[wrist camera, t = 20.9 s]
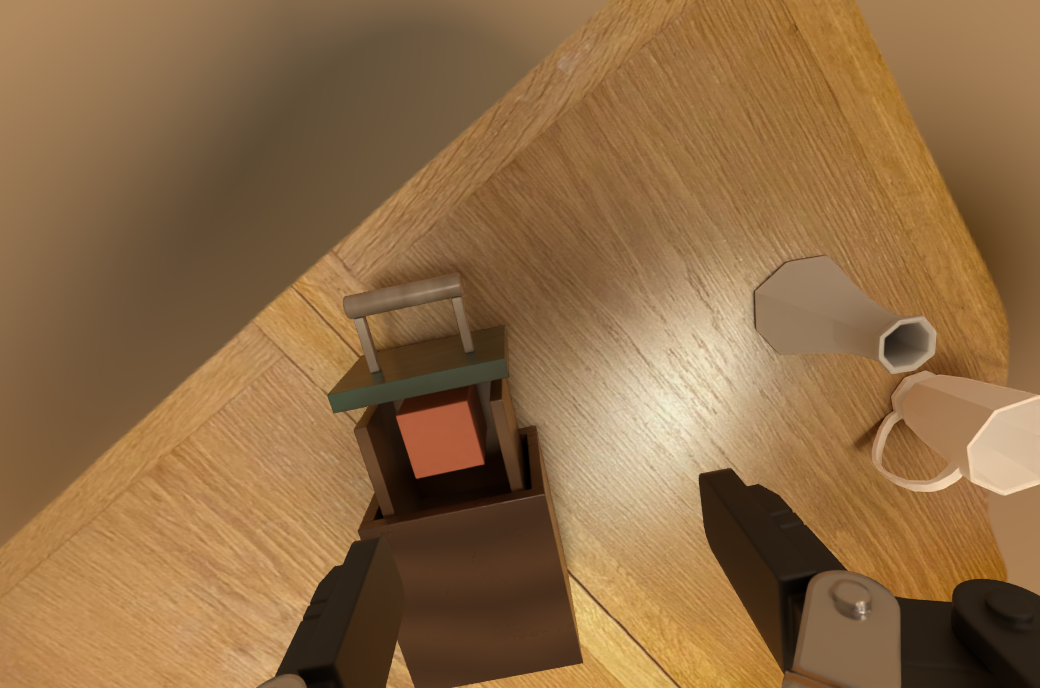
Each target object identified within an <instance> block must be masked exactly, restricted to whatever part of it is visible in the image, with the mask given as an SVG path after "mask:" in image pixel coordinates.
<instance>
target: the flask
mask: <svg viewBox="0 0 1040 688" xmlns="http://www.w3.org/2000/svg"><path fill="white" fill-rule="evenodd" d="M755 307H756V330H757V331H758V332H759V333H760V334H761V335H762V336H763V337H764V338H765V339H766V340H767V341H768V343H769V344H770V345H771V346H772V347H773V348H774V349H775V350H776V351H777V352H778V353H779V354H780V355H790V354H809V353H847V354H853V355H858V356H863V357H868V358H871V359H873V360H875V361H878V362H879V363H880V364H881V365H882V366H883V368H884V369H885V370H886V371H887V372H888V373H890V374H895V373H901V372H907V371H913V370H916V369H917V368H918V367H920V366H921V365H922V364H923V363H924V362H926V361H927V360H928V359H929V358H931V357H932V356H933V355H934V354H935V345H936V333H937V332H936V331H935V329H934V328H933V327H932V326H931V324H930V323H929V322H928V321H927V320H926V318H925V317H924V316H922V315H913V316H907V317H904V316H901V315H898V314H895V313H892V312H890V311H889V310H887V309H885V308H884V307H882V306H880V305H879V304H877V303H875V302H874V301H872V300H871V299H870V298H869V297H868V296H867V295H866V294H865V293H864V292H863V291H862V290H861V289H860V288H859V287H858V286H857V285H856V284H854V283H853V282H852V281H851V280H850V279H849V278H848V276H847V275H846V274H845V273H844V272H843V271H842V270H841V269H840V268H839V267H838V266H837V265H836V263H835V262H834V261H833V260H832V259H831V258H830V257H829V256H828V255H825V256H820V257H814V258H808V259H802V260H796V261H791V262H786V263H785V264H784V265H783V266H782V267H781V268H780V269H779V270H778V271H777V272H776V273H774V274H773V275H772V276H771V277H770V278H769V279H768V280H767V281H766V282H765V283H764V284H763V285H761V286H760V287H759V288H758V289H757V290H756V291H755Z"/></svg>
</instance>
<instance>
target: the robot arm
mask: <svg viewBox="0 0 1040 688" xmlns="http://www.w3.org/2000/svg"><path fill="white" fill-rule="evenodd" d="M699 488H700V496H701V505H702V514H703V522H704V529H705V533H706V537H707V540H708V543H709V545H710V548H711V550H712V552H713V554H714V555H715V557H716V559H717V560H718V562H719V564H720V566H721V567H722V569H723V571H724V572H725V574H726V576H727V578H728V579H729V581H730V583H731V584H732V586H733V588H734V590H735V591H736V593H737V595H738V596H739V598H740V600H741V602H742V603H743V605H744V607H745V608H746V610H747V612H748V614H749V615H750V617H751V619H752V620H753V622H754V624H755V626H756V627H757V629H758V631H759V633H760V634H761V636H762V638H763V639H764V641H765V643H766V645H767V646H768V648H769V650H770V651H771V653H772V655H773V657H774V658H775V660H776V662H777V663H778V665H779V667H780V669H781V670H782V672H783V674H784V679H783V683H782V688H1040V596H1039V595H1037V594H1035V593H1033V592H1031V591H1029V590H1027V589H1024V588H1022V587H1019V586H1016V585H1013V584H1010V583H1006V582H1002V581H997V580H990V579H973V580H968V581H965V582H962V583H960V584H959V585H957V586H956V588H955V589H954V591H953V595H952V602H943V601H930V600H917V599H907V598H900V597H895V596H893V594H892V593H891V592H890V591H889V590H888V589H887V588H885V587H884V586H883V585H881V584H880V583H878V582H877V581H875V580H873V579H871V578H869V577H867V576H864V575H862V574H859V573H855V572H851V571H848V570H847V569H846V568H845V567H844V566H843V565H842V564H841V563H840V562H839V561H838V559H837V558H836V557H835V556H834V555H833V554H832V553H831V552H830V551H829V550H828V549H827V547H826V546H825V545H824V544H823V543H822V542H821V541H820V540H819V539H818V538H817V536H816V535H815V534H814V533H813V532H812V531H811V530H810V529H809V528H808V527H807V526H806V525H804V523H803V521H802V520H801V519H800V518H799V517H798V516H797V515H796V513H793V512H792V509H791V508H790V507H789V506H788V505H787V504H786V503H785V501H784V500H783V499H782V498H781V497H780V496H779V495H778V494H776V493H774V492H772V491H770V490H769V489H767V488H765V487H763V486H761V485H759V484H756V485H751V486H746V485H745V484H744V483H743V481H742V480H741V479H740V478H739V477H738V475H737V474H736V473H735V472H734V471H733V470H732V469H731V468H727V469H722V470H717V471H712V472H706V473H701V474H700V475H699ZM404 607H405V593H404V586H403V583H402V579H401V577H400V574H399V571H398V568H397V565H396V562H395V559H394V556H393V553H392V551H391V548H390V545H389V542H388V540H387V538H386V537H385V536H379V537H374V538H369V539H364V540H359V541H354V542H353V543H352V545H351V547H350V549H349V551H348V554H347V556H346V558H345V561H344V563H343V565H340V566H335V567H334V568H333V569H332V570H331V571H330V572H329V573H328V574H327V575H326V577H325V578H324V579H323V580H322V581H321V582H320V583H319V585H318V587H317V589H316V591H315V593H314V595H313V597H312V599H311V602H310V606H308V608H307V610H306V612H305V614H304V616H303V621H301V623H300V625H299V627H298V629H297V631H296V633H295V635H294V637H293V639H292V641H291V644H290V646H289V648H288V650H287V652H286V654H285V656H284V658H283V660H282V662H281V665H280V667H279V669H278V671H277V673H276V675H275V677H274V678H272V679H270V680H268V681H266V682H264V683H263V684H261V685H259V686H258V687H257V688H386V683H387V679H388V675H389V671H390V667H391V663H392V659H393V654H394V650H395V646H396V642H397V638H398V634H399V630H400V625H401V621H402V617H403V613H404Z"/></svg>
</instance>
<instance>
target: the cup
mask: <svg viewBox="0 0 1040 688" xmlns="http://www.w3.org/2000/svg"><path fill="white" fill-rule="evenodd" d="M891 401H892V406H893V411H892V412H891V413H890V414H888V415H887V416H886V417H885V419H884V420H883V422H882V424H881V425H880V427H879V429H878V432H877V435H876V437H875V440H874V444H873V447H872V461H873V463H874V464H875V466H876V467H877V469H878V470H879V472H880V473H881V474H882V475H883V476H884V477H885V478H887V479H888V480H890V481H891V482H893V483H895V484H896V485H899V486H902V487H904V488H907V489H909V490H912V491H924V492H934V491H937V490H941V489H944V488H946V487H948V486H949V485H951V484H953V483H955V482H956V481H958V480H959V479H960V478H961V477H962V476H965V477H966V478H967V479H968V480H969V481H971V482H973V483H975V484H977V485H980V486H982V487H984V488H987V489H989V490H991V491H994V492H996V493H998V494H1000V495H1003V496H1005V495H1008V494H1011V493H1014V492H1017V491H1020V490H1023V489H1026V488H1029V487H1033V486H1036V485H1039V484H1040V395H1037V394H1033V393H1029V392H1024V391H1020V390H1015V389H1011V388H1007V387H1002V386H998V385H994V384H989V383H985V382H981V381H977V380H973V379H969V378H963V377H955V376H947V375H935V374H933V373H931V372H929V371H926V370H925V371H922V372H919V373H916V374H913V375H911V376H908V377H905V378H903V380H902V381H901V383H900V384H899V386H898V387H897V388H896V390H895V391H894V393H893V394H892V396H891ZM900 419H904V421H905V423H906V424H907V425H908V426H909V428H910V429H911V430H912V431H913V432H914V433H915V434H916V435H917V436H918V437H919V438H920V439H921V440H922V441H923V442H924V443H925V444H927V445H928V446H929V447H930V448H931V449H933V450H934V451H935V452H936V453H937V454H939V455H940V456H941V457H942V458H944V459H945V460H946V461H947V462H948V463H949V465H948V466H947V467H946V468H945V469H944V470H943V471H942V472H941V473H940V474H939V475H938V476H937V477H936V478H934V479H931V480H928V481H914V480H906V479H903V478H900V477H898V476H895V475H893V474H891V473H889V472H888V471H886V470H884V469H883V467H882V466H881V461H882V452H883V448H884V445H885V442H886V439H887V436H888V434H889V432H890V430H891V429H892V427H893V425H894V424H895V423H896V422H898V421H899V420H900Z"/></svg>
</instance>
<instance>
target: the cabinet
mask: <svg viewBox="0 0 1040 688" xmlns="http://www.w3.org/2000/svg"><path fill="white" fill-rule="evenodd" d="M518 430H519V434H520V438H521V443H522V447H523V451H524V456H525V460H526V464H527V469H528V473H529V477H530V483H531V489H530V490H525V491H520V492H515V493H510V494H505V495H500V496H495V497H490V498H485V499H480V500H475V501H469V502H464V503H459V504H454V505H449V506H444V507H439V508H434V509H429V510H424V511H419V512H414V513H409V514H404V515H399V516H394V517H389V518H384V517H383V515H382V512H381V509H380V506H379V503H378V500H377V497H376V494H375V493H374V495H373V497H372V500H371V502H370V504H369V507H368V509H367V511H366V513H365V516H364V518H363V520H362V523H361V525H360V527H359V529H358V533H359V536H360V539H361V540H364V539H369V538H374V537H379V536H385V537H386V538H387V540H388V542H389V545H390V548H391V551H392V553H393V556H394V559H395V562H396V565H397V568H398V571H399V574H400V577H401V579H402V583H403V586H404V593H405V607H404V613H403V617H402V621H401V625H400V630H399V634H398V638H397V640H398V643H399V646H400V648H401V651H402V654H403V657H404V659H405V662H406V665H407V668H408V670H409V673H410V676H411V679H412V681H413V684H414V687H415V688H453V687H458V686H464V685H469V684H474V683H480V682H485V681H490V680H496V679H501V678H506V677H512V676H517V675H522V674H528V673H533V672H538V671H544V670H549V669H554V668H560V667H565V666H570V665H576V664H581V663H583V659H582V653H581V647H580V641H579V635H578V629H577V623H576V617H575V611H574V605H573V599H572V594H571V588H570V582H569V576H568V570H567V564H566V560H565V555H564V551H563V546H562V542H561V537H560V533H559V528H558V523H557V519H556V514H555V510H554V505H553V501H552V496H551V492H550V487H549V483H548V478H547V473H546V469H545V464H544V460H543V455H542V451H541V446H540V442H539V437H538V432H537V428H536V426H532V427H527V428H522V429H518Z"/></svg>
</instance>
